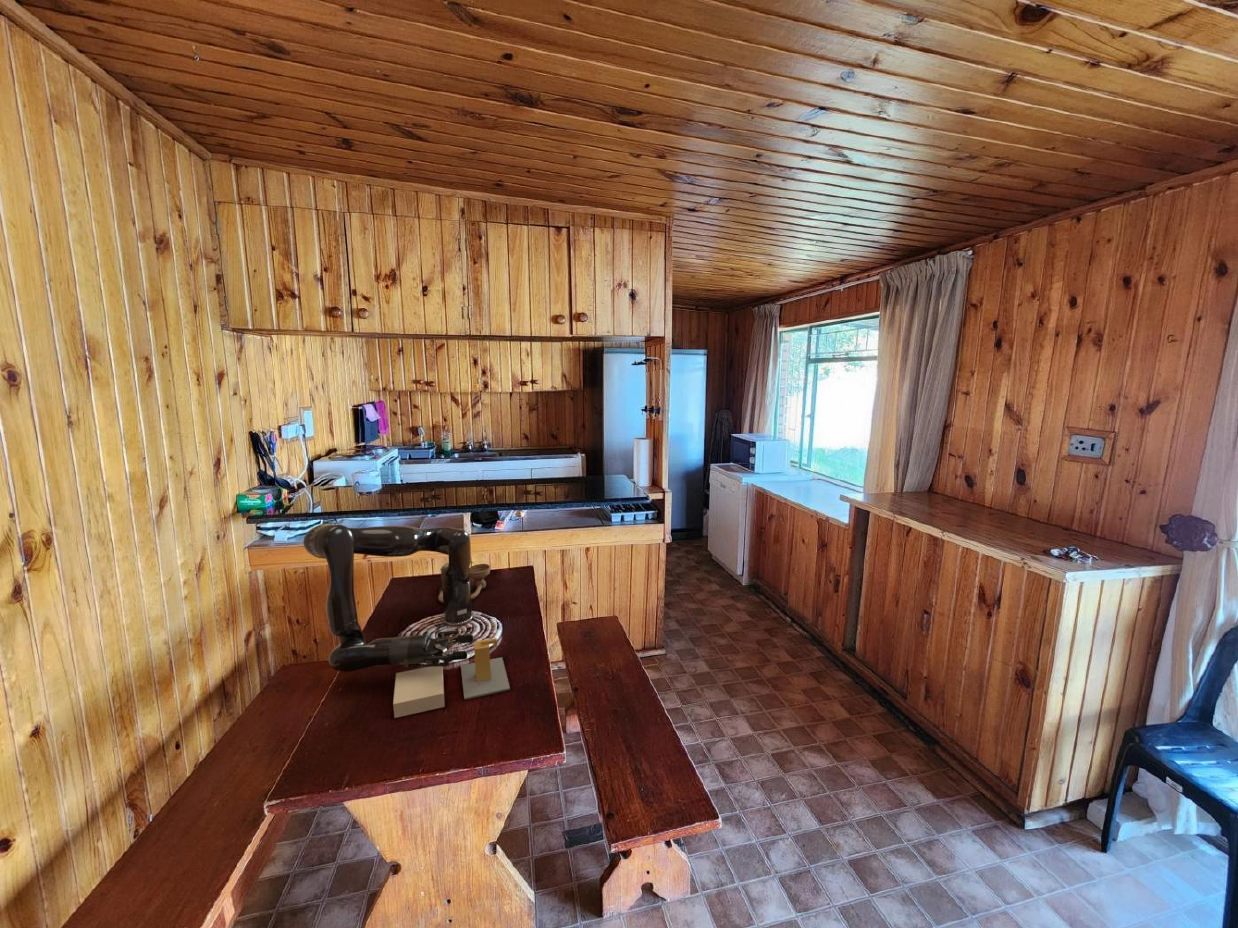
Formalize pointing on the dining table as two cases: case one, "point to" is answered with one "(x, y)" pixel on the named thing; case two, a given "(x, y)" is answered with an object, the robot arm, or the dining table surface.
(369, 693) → the dining table surface
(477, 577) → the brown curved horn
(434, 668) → the beige rectangular block
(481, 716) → the dining table surface
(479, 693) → the left mat
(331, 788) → the dining table surface
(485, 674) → the golden block with ridge
